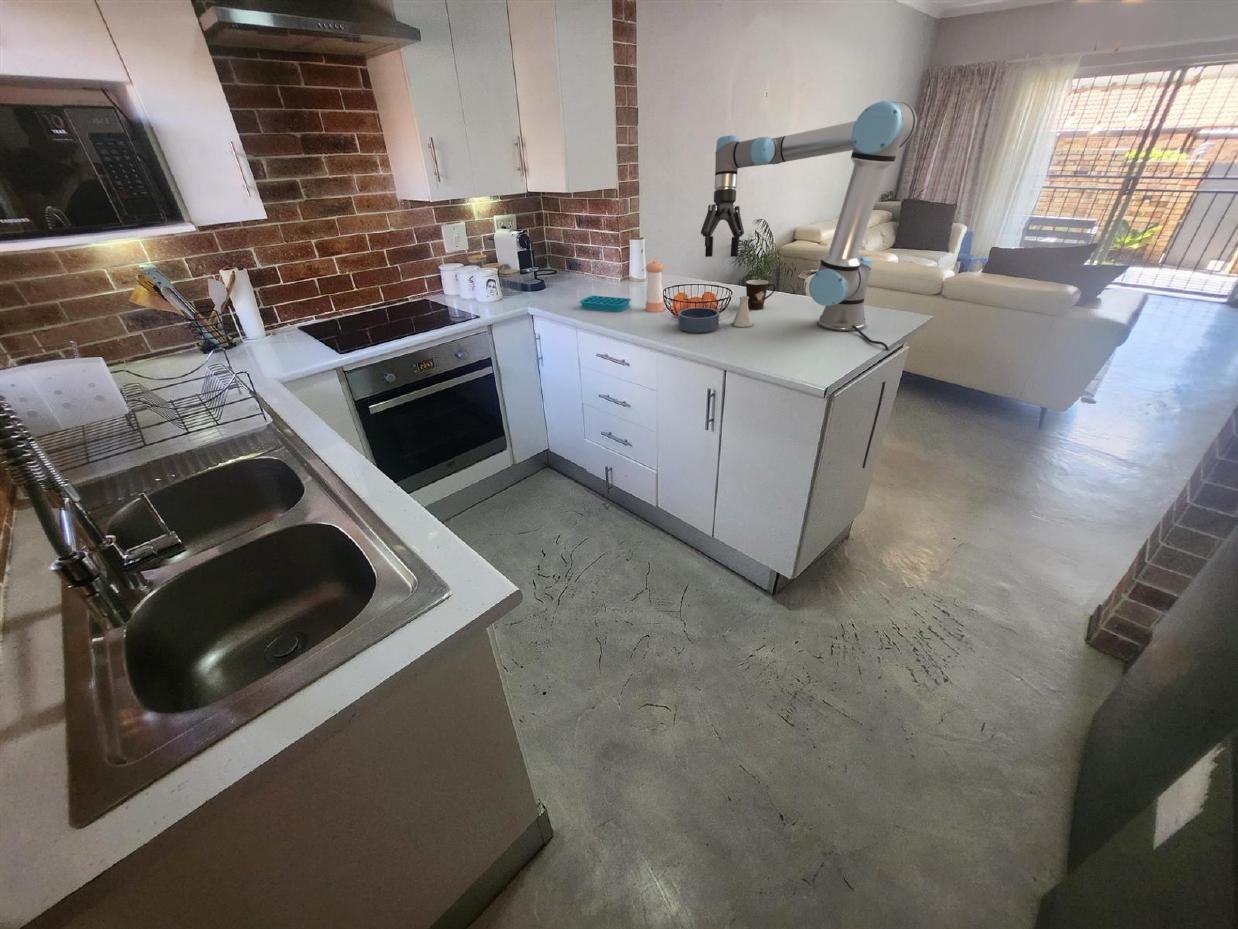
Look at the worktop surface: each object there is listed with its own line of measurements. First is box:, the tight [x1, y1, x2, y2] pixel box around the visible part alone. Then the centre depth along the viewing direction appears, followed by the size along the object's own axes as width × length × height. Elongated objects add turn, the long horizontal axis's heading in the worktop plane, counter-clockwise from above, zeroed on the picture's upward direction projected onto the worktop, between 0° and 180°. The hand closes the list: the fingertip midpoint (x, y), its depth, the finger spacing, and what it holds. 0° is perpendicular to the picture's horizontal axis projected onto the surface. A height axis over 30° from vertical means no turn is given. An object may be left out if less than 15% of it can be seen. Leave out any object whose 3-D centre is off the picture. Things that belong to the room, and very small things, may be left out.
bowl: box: [677, 307, 721, 334], centre depth 183 cm, size 15×15×6 cm
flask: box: [732, 295, 753, 328], centre depth 183 cm, size 7×7×10 cm
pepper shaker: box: [645, 260, 665, 313], centre depth 204 cm, size 7×7×19 cm
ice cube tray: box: [578, 295, 632, 313], centre depth 215 cm, size 12×20×3 cm, turn 62°
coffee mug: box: [745, 279, 776, 311], centre depth 202 cm, size 12×9×10 cm
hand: (721, 256), depth 181 cm, fingers open, 13 cm apart
